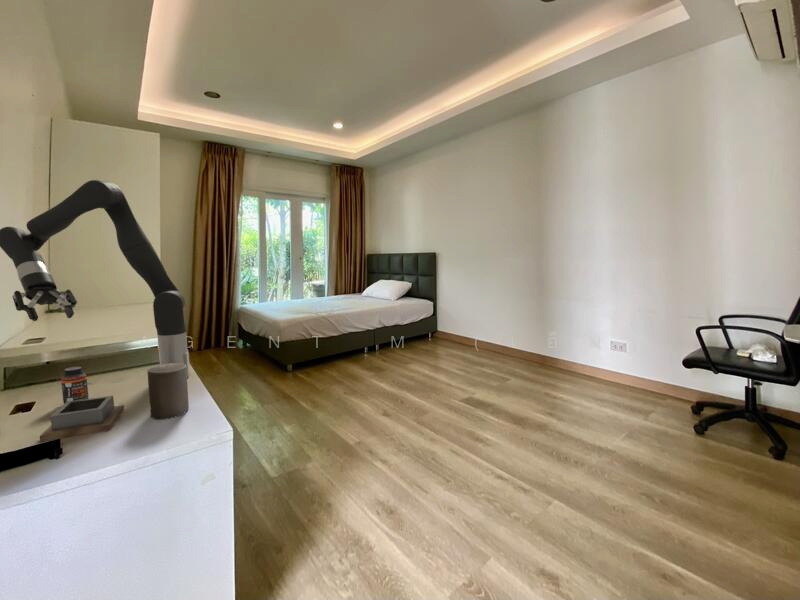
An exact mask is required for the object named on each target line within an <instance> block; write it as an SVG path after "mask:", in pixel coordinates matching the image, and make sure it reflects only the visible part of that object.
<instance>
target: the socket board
mask: <svg viewBox="0 0 800 600" xmlns="http://www.w3.org/2000/svg"><path fill="white" fill-rule="evenodd" d="M124 411H125V405H116V406H115V405H114V410H113V411H112V412H111V414H110V415H109V416H108V418H107V419H106V420H105V422H104V423H101V424H95V425H89V426H82V427H76V428H70V429H64V430H57V431H52V426H51V425H50V426H49V427H47V428H46V429H45V430H44V431H43V432H42V433H41V434H40V435H39V442H46V441H53V440H59V439H65V438H70V437H76V436H82V435H88V434H95V433H101V432H105V431H106V432H107V431H111V430H112V428H113V427H114V425H115V424H116V422H117V421H118V419H119V418H120V417H121V415H122V414H123V412H124Z"/></svg>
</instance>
